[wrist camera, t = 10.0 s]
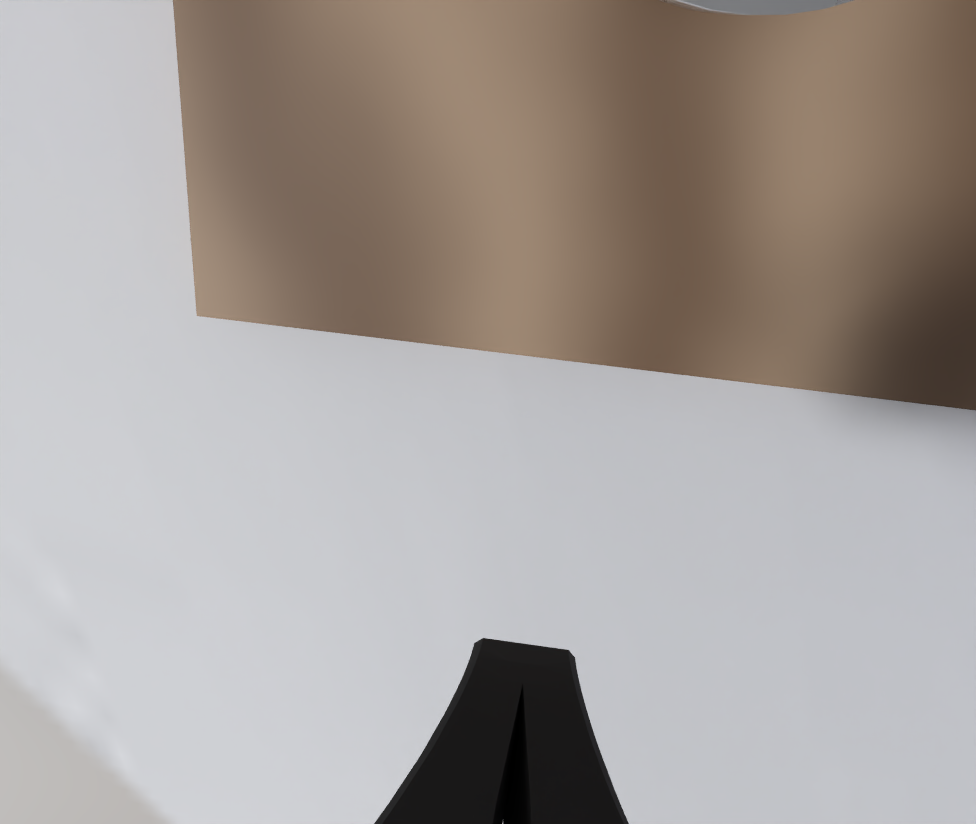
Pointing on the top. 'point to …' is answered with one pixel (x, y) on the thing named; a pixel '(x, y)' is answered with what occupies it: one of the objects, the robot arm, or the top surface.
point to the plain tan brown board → (596, 182)
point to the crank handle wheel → (755, 6)
